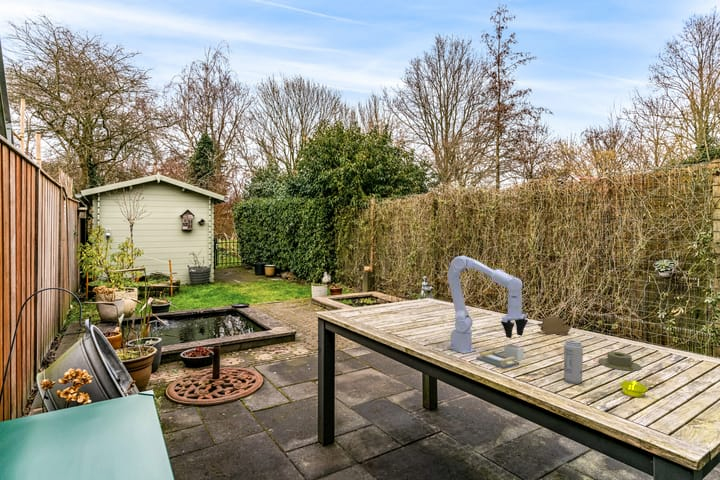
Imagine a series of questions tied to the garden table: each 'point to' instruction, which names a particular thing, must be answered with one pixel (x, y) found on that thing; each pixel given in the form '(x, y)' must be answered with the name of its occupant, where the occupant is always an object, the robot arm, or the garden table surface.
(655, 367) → the garden table surface
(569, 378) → the energy drink can
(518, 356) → the block
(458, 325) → the robot arm
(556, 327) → the wooden carving
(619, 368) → the flange
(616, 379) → the garden table surface
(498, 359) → the rail base
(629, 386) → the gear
